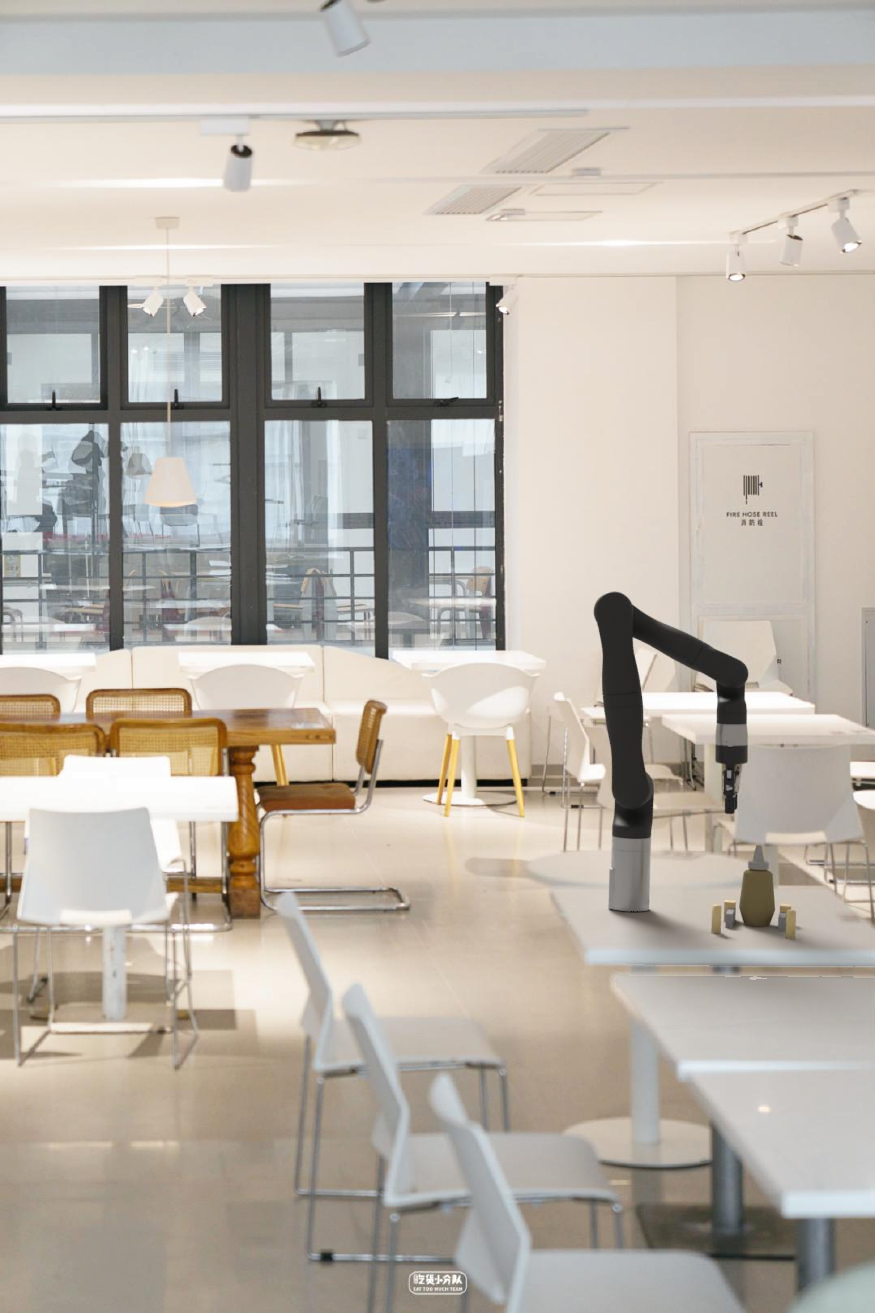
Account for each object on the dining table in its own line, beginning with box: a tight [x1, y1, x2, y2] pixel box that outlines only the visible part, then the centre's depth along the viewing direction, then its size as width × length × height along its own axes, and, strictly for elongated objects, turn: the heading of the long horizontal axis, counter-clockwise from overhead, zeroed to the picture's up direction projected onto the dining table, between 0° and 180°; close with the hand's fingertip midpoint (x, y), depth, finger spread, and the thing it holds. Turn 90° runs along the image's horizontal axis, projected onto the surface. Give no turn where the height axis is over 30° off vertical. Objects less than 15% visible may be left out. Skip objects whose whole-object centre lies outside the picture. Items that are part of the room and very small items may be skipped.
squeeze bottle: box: [738, 844, 776, 927], centre depth 346 cm, size 8×8×18 cm
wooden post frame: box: [710, 899, 797, 940], centre depth 342 cm, size 18×18×6 cm
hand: (731, 811), depth 360 cm, fingers open, 8 cm apart
